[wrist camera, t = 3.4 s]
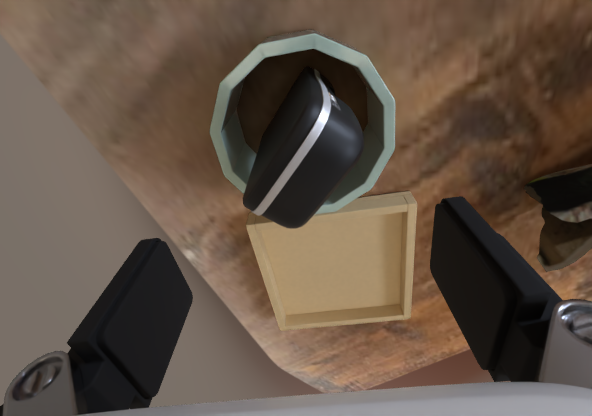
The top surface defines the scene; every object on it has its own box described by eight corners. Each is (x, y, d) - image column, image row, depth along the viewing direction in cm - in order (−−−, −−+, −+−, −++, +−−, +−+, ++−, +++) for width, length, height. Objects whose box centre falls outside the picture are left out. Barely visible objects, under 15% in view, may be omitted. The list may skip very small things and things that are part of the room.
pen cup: (374, 16, 20) (396, 17, 15) (377, 170, 26) (394, 204, 21) (209, 48, 21) (184, 58, 16) (250, 188, 27) (240, 224, 22)
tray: (409, 190, 27) (417, 202, 25) (405, 303, 35) (410, 318, 34) (249, 212, 28) (245, 225, 27) (281, 315, 37) (280, 331, 35)
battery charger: (298, 162, 26) (297, 251, 16) (259, 139, 24) (233, 219, 15) (349, 90, 22) (386, 148, 13) (307, 60, 21) (313, 98, 12)
